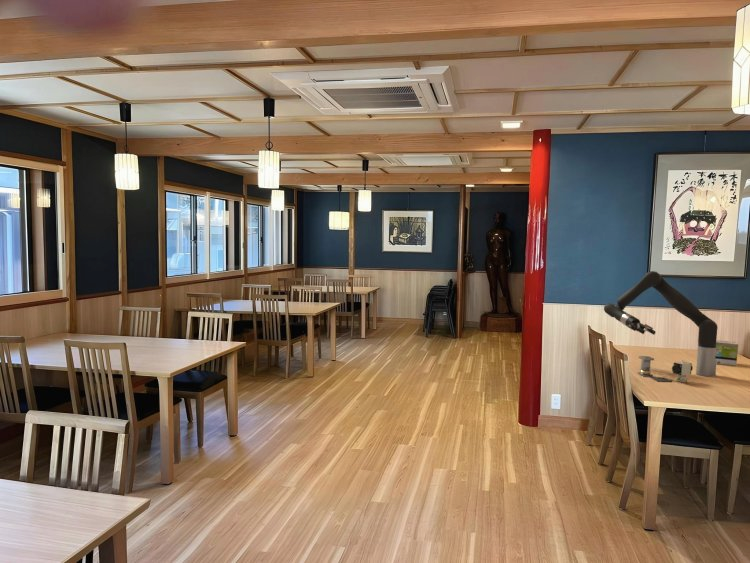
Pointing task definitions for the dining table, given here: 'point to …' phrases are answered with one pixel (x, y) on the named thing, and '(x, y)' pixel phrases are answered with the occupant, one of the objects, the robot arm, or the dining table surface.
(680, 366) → the pneumatic valve
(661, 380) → the pad
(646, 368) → the grey column pedestal
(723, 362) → the tea box
